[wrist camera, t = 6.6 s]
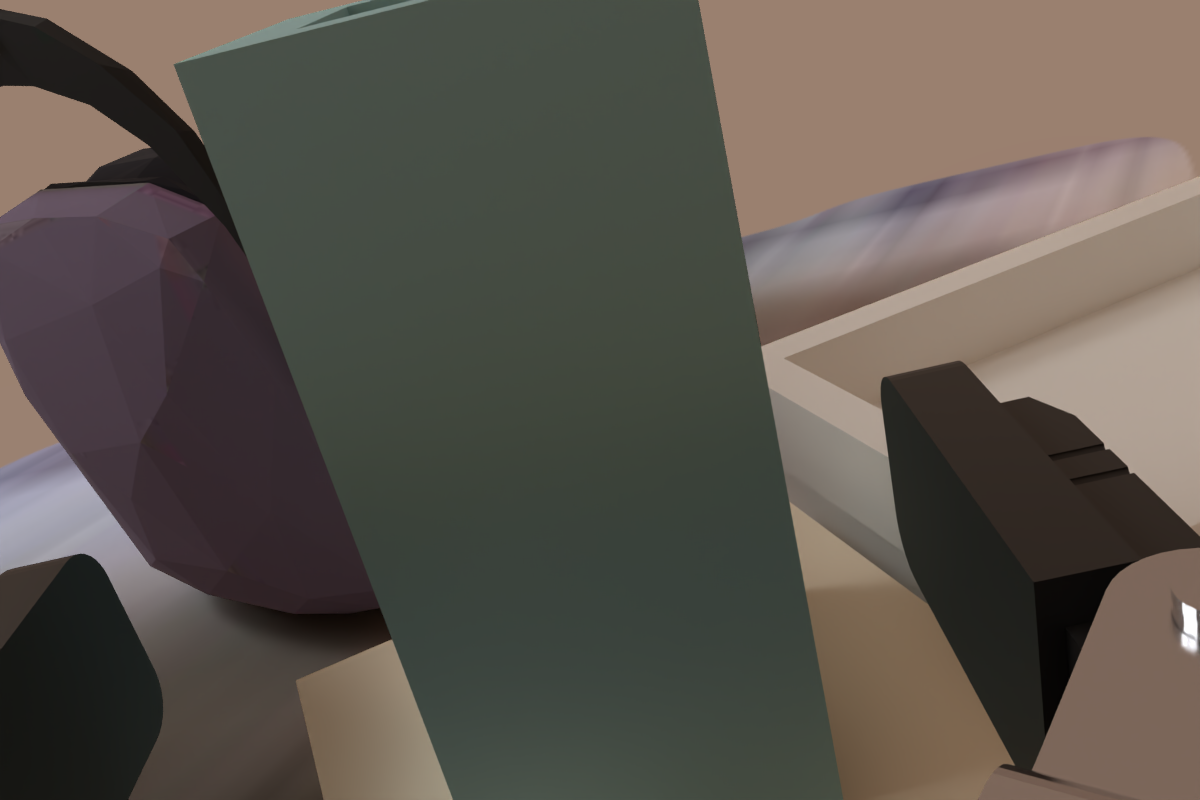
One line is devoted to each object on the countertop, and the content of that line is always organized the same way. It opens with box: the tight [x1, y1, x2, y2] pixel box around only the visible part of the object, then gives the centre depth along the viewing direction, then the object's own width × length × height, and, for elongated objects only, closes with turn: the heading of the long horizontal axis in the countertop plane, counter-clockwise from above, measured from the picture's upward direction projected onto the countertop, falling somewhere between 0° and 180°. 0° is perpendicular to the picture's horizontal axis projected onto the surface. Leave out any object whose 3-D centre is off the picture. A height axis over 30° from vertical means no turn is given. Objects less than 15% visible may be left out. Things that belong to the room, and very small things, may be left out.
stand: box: [296, 502, 1015, 800], centre depth 16 cm, size 10×10×10 cm
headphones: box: [0, 9, 380, 614], centre depth 26 cm, size 9×17×20 cm, turn 151°
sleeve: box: [174, 0, 843, 800], centre depth 15 cm, size 5×5×11 cm
